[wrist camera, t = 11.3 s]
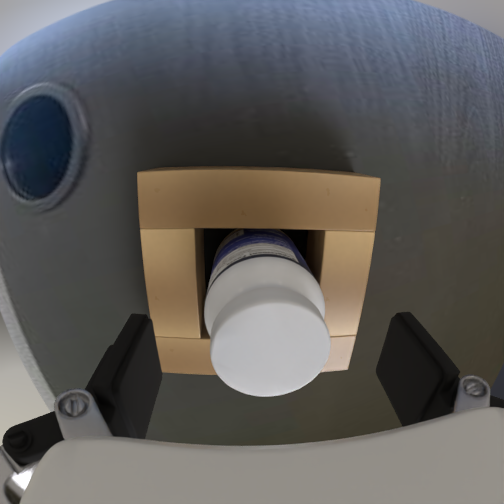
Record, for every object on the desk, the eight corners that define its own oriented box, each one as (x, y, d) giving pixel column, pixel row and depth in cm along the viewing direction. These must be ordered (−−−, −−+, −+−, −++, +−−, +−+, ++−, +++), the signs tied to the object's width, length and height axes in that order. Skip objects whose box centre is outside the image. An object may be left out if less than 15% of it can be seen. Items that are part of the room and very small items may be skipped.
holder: (157, 167, 18) (136, 172, 14) (354, 172, 18) (381, 178, 15) (170, 339, 22) (159, 372, 18) (333, 338, 22) (347, 369, 19)
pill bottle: (295, 300, 21) (331, 401, 12) (215, 300, 21) (201, 406, 11) (301, 221, 19) (355, 286, 10) (213, 221, 19) (187, 289, 10)
